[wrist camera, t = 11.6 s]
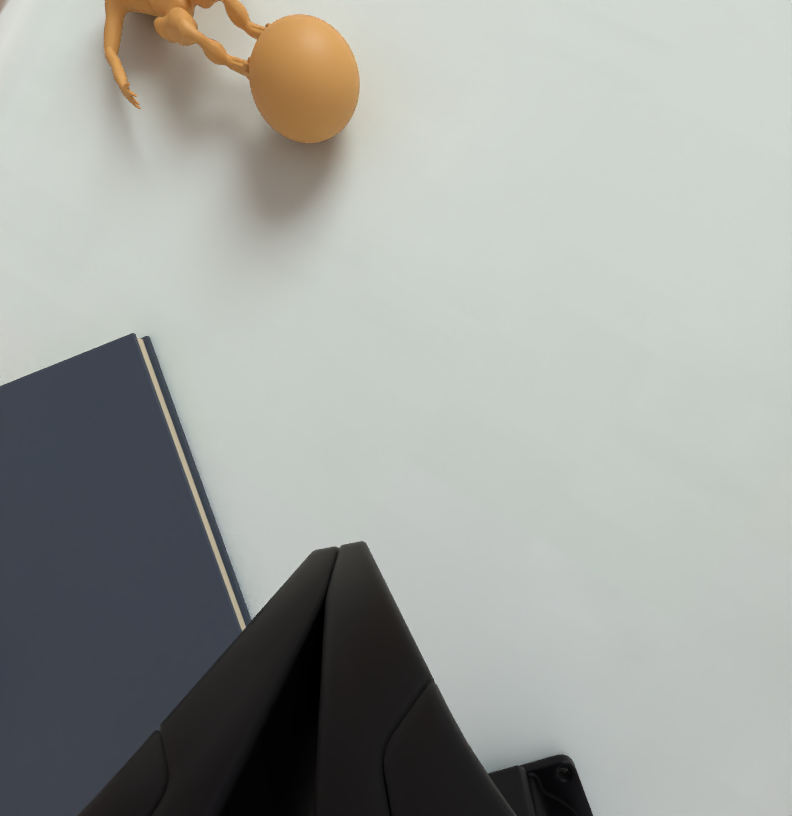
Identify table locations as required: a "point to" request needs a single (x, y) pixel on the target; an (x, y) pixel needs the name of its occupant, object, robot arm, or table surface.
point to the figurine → (261, 63)
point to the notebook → (100, 574)
